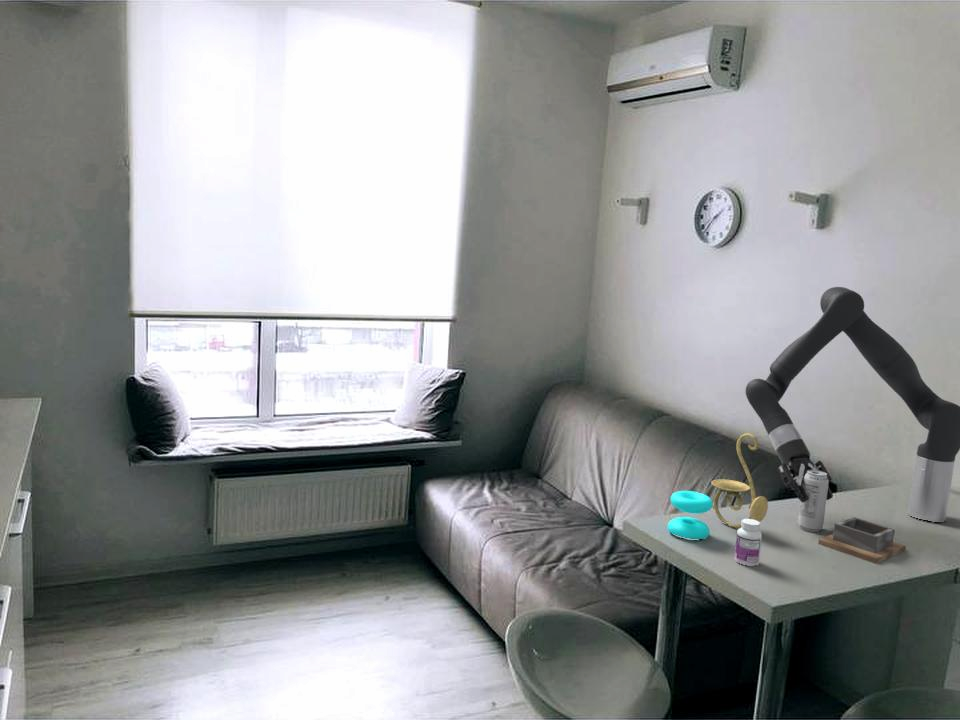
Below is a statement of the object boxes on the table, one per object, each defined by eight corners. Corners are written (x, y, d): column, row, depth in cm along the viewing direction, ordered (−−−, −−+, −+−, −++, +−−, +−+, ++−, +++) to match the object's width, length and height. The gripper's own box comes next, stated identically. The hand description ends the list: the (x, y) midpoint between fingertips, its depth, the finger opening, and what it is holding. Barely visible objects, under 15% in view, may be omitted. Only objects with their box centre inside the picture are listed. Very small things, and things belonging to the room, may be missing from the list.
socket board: (849, 532, 206) (851, 512, 205) (905, 550, 195) (908, 529, 195) (818, 543, 196) (820, 523, 195) (876, 563, 185) (879, 542, 184)
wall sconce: (768, 533, 201) (779, 436, 197) (744, 539, 195) (756, 440, 192) (722, 516, 212) (733, 424, 208) (699, 521, 206) (709, 427, 203)
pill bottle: (736, 555, 184) (741, 515, 183) (760, 561, 182) (765, 520, 180) (731, 563, 180) (736, 521, 178) (755, 569, 177) (760, 527, 176)
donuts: (722, 499, 193) (691, 504, 188) (717, 539, 194) (687, 544, 189) (692, 487, 202) (662, 491, 197) (688, 525, 203) (658, 530, 198)
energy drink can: (827, 532, 205) (834, 475, 203) (808, 533, 203) (815, 476, 201) (811, 524, 210) (818, 468, 208) (792, 525, 209) (799, 469, 206)
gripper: (777, 438, 207) (806, 495, 199) (817, 436, 213) (847, 491, 205) (760, 453, 213) (787, 508, 204) (799, 450, 219) (828, 504, 210)
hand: (817, 499), depth 204 cm, fingers open, 8 cm apart
